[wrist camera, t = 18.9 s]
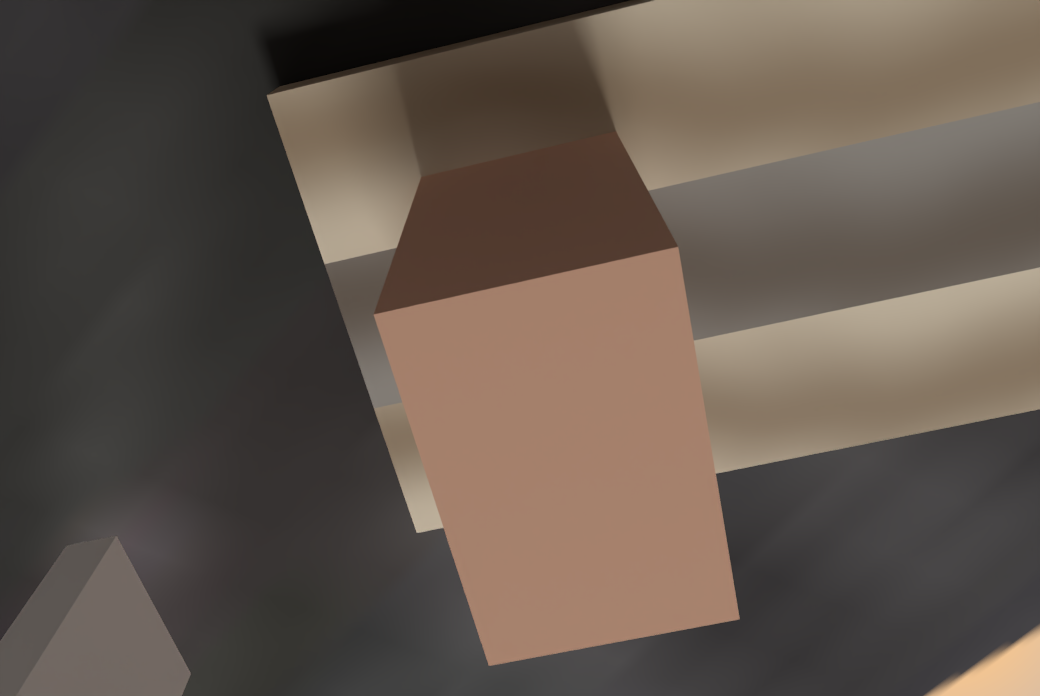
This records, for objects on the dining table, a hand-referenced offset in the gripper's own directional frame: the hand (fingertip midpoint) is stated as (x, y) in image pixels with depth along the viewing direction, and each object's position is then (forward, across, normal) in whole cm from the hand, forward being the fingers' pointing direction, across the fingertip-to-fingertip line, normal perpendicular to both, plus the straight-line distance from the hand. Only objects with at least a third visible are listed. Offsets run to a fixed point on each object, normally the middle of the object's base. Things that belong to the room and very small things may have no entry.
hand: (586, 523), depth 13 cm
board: (+11, +6, -1) cm, 12 cm away
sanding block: (+10, 0, -1) cm, 10 cm away
